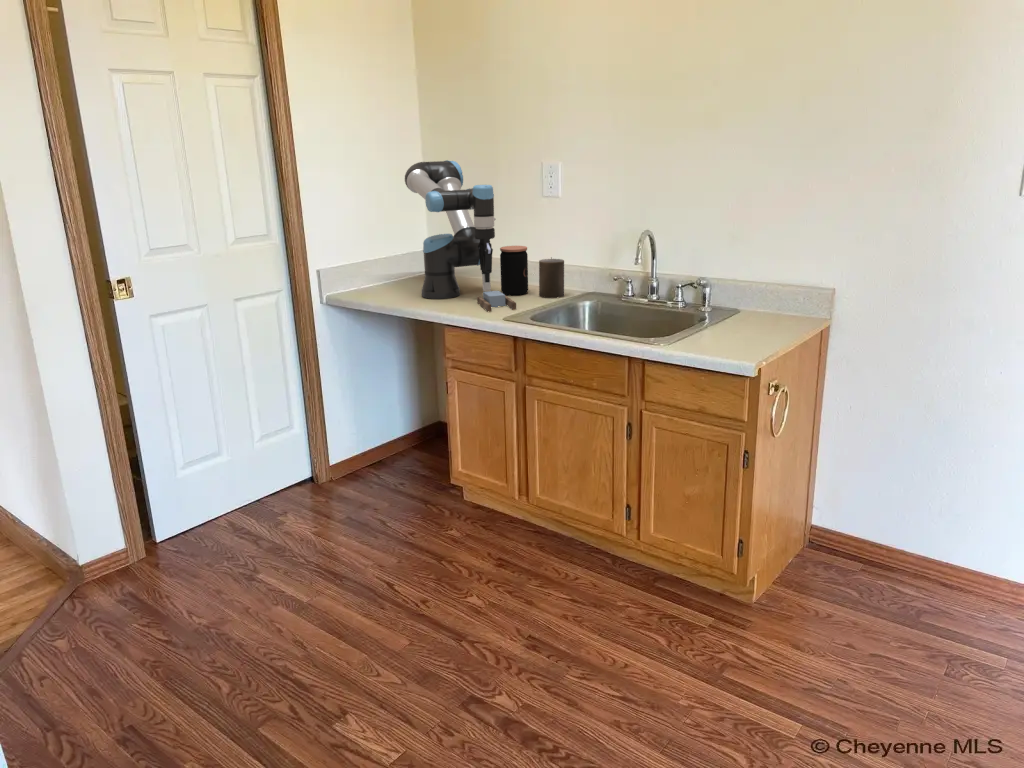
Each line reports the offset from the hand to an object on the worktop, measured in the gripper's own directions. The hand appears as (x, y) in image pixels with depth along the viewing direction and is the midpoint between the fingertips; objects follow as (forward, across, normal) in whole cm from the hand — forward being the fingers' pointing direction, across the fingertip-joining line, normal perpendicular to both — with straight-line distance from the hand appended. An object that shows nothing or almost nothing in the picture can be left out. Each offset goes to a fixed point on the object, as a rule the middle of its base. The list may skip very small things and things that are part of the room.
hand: (486, 290), depth 300 cm
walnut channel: (+4, -13, 0) cm, 14 cm away
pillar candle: (+4, -3, -25) cm, 26 cm away
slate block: (+4, -10, 0) cm, 11 cm away
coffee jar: (+4, +7, -13) cm, 15 cm away
